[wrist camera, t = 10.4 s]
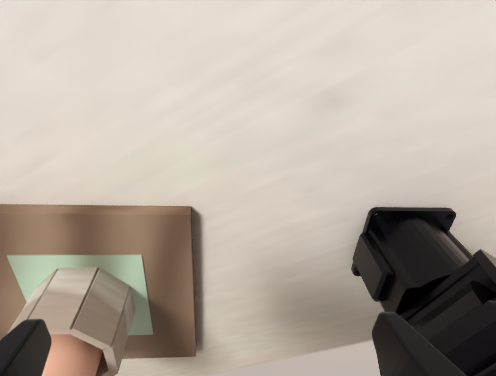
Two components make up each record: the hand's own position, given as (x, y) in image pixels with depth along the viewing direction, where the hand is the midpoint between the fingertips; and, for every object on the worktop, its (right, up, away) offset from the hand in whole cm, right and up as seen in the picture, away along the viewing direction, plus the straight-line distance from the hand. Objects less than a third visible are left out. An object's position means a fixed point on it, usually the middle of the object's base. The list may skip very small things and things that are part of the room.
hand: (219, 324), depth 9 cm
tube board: (-12, -4, +17) cm, 21 cm away
